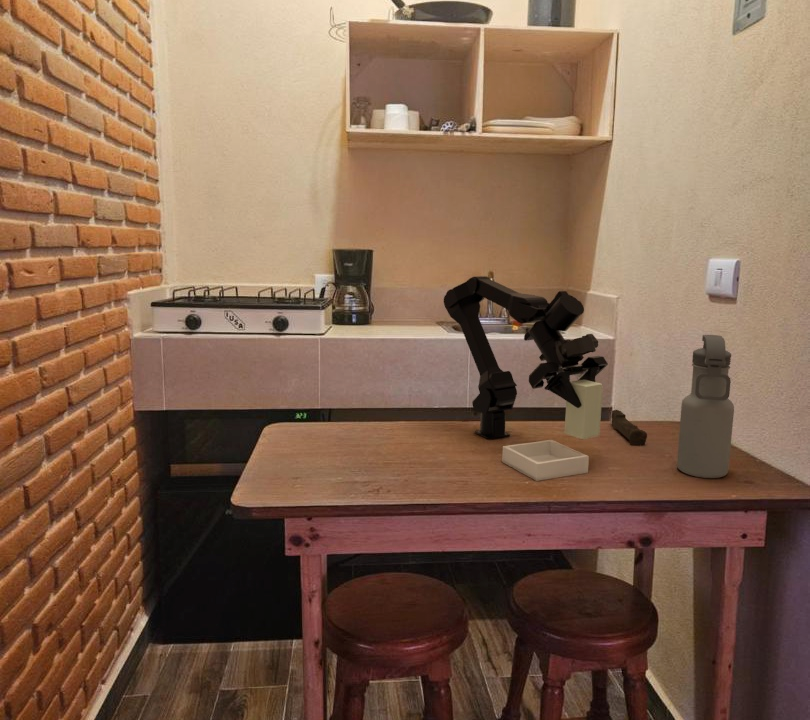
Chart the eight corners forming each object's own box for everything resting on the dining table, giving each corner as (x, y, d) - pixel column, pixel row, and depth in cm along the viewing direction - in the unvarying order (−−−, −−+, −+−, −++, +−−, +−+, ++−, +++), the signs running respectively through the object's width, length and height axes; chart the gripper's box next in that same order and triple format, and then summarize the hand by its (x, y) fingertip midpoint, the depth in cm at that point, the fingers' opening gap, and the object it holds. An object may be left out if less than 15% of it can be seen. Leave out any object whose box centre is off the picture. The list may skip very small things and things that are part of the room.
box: (502, 462, 143) (502, 446, 143) (550, 454, 148) (551, 439, 148) (536, 481, 132) (537, 464, 131) (587, 472, 137) (588, 456, 136)
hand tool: (646, 447, 155) (648, 427, 155) (629, 446, 155) (630, 427, 155) (623, 425, 174) (624, 408, 173) (607, 425, 174) (609, 407, 173)
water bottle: (732, 482, 132) (745, 341, 127) (678, 477, 134) (689, 339, 130) (723, 466, 141) (735, 334, 136) (674, 461, 144) (684, 332, 139)
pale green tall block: (564, 433, 140) (567, 382, 138) (580, 429, 143) (583, 379, 141) (582, 439, 136) (586, 386, 134) (599, 435, 139) (602, 383, 137)
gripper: (541, 324, 133) (580, 388, 126) (603, 318, 143) (643, 378, 136) (512, 356, 141) (548, 419, 134) (573, 349, 151) (609, 407, 144)
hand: (588, 405), depth 137 cm, fingers closed on pale green tall block, 5 cm apart
